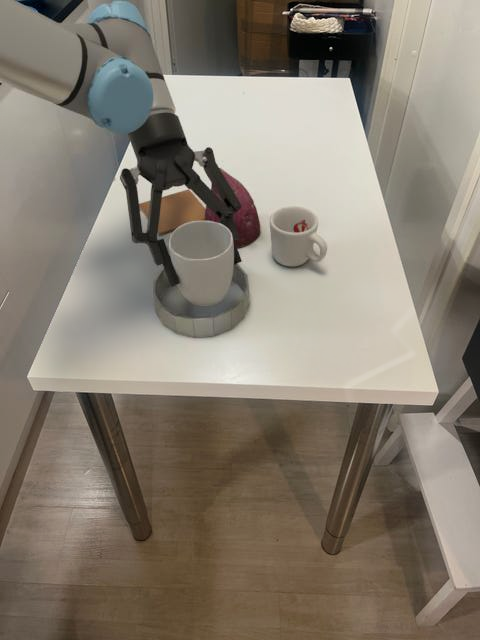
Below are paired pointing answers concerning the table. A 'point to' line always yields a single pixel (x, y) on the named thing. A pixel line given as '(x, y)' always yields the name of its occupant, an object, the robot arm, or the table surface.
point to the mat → (176, 211)
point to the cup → (295, 236)
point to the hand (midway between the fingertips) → (206, 274)
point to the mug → (203, 261)
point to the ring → (202, 324)
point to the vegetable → (239, 213)
